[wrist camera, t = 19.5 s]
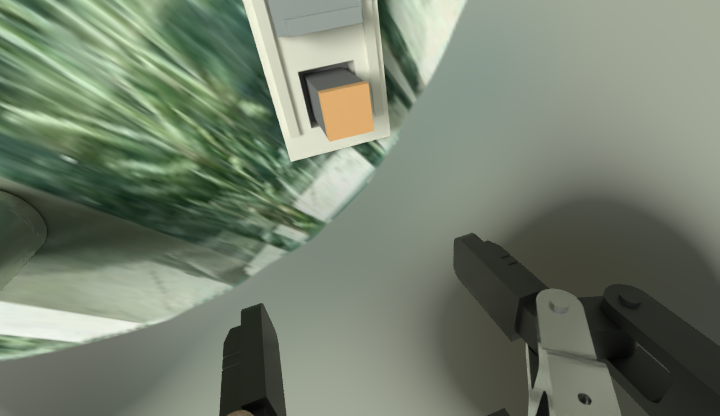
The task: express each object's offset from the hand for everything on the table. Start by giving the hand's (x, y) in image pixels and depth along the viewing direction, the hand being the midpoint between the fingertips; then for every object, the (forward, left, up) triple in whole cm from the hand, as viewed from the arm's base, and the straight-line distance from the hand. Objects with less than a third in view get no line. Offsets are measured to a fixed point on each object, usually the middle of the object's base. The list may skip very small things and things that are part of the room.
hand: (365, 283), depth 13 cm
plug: (+4, +1, -28) cm, 28 cm away
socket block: (+4, +4, -29) cm, 30 cm away
